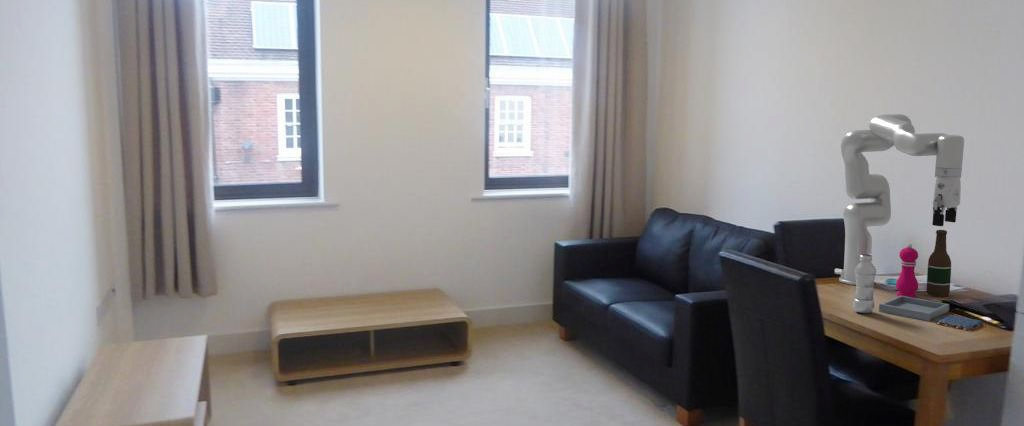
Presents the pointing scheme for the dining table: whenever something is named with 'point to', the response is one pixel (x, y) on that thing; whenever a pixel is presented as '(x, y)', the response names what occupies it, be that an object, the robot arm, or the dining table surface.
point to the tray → (914, 308)
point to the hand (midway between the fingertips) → (944, 223)
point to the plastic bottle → (864, 285)
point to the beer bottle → (939, 268)
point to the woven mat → (960, 322)
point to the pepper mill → (907, 273)
